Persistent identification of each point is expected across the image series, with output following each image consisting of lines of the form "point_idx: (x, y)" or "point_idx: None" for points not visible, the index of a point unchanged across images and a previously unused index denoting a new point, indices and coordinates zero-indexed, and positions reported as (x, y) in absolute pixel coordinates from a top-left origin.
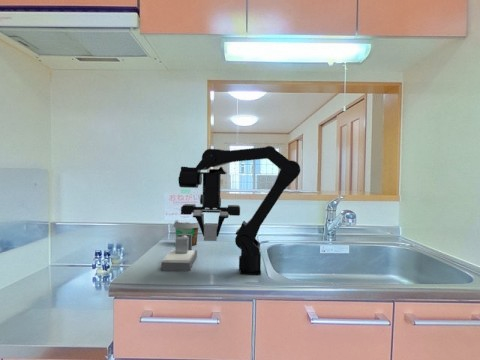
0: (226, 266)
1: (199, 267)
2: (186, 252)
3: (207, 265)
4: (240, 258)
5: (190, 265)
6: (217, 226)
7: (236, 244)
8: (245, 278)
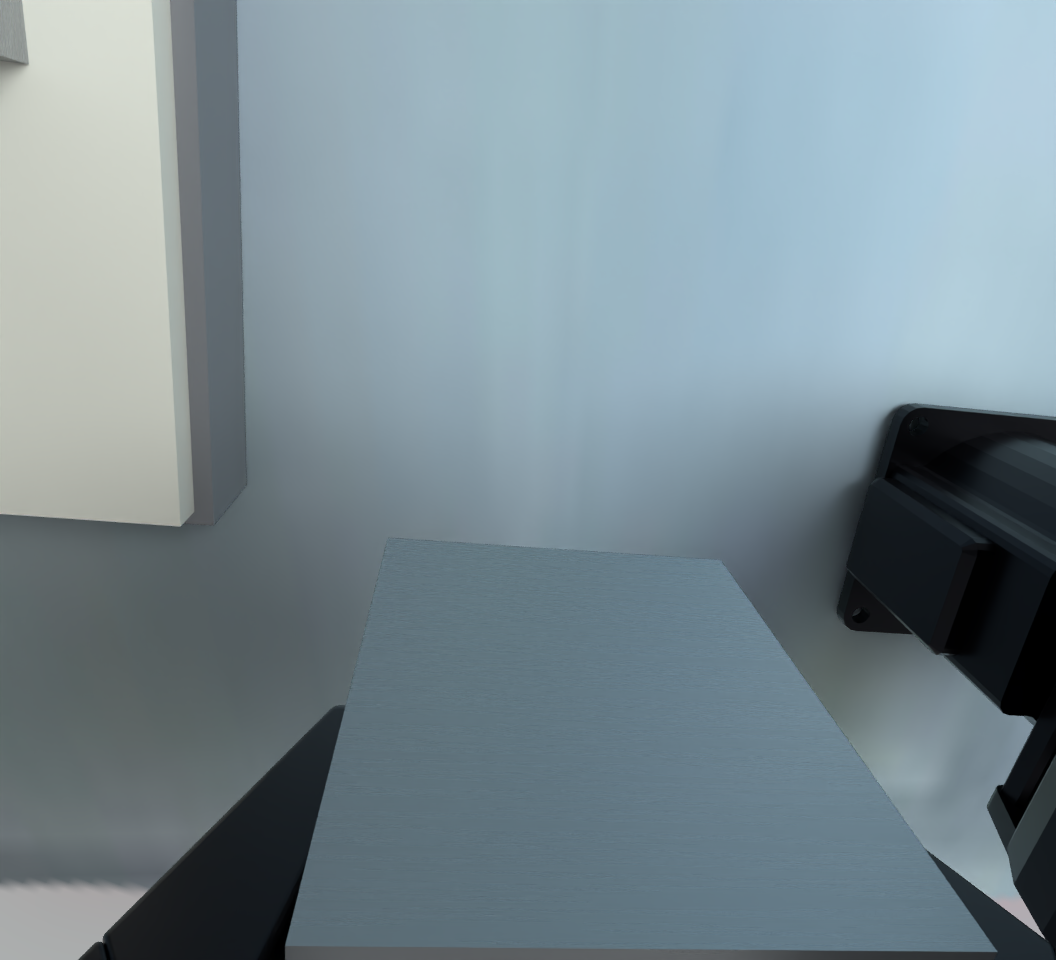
0: (732, 301)
1: (357, 336)
2: (6, 59)
3: (466, 239)
4: (942, 653)
5: (229, 443)
6: (895, 826)
7: (1017, 873)
8: (849, 718)
